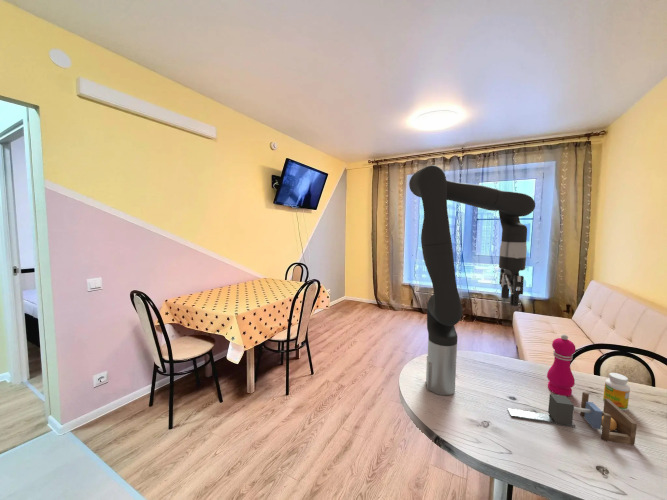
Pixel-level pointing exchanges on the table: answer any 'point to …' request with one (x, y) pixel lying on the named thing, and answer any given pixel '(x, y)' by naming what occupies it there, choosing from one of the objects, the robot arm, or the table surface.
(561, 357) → the pepper mill
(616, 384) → the supplement bottle
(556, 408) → the rod
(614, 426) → the ball
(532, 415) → the rail
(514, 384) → the table surface
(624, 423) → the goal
